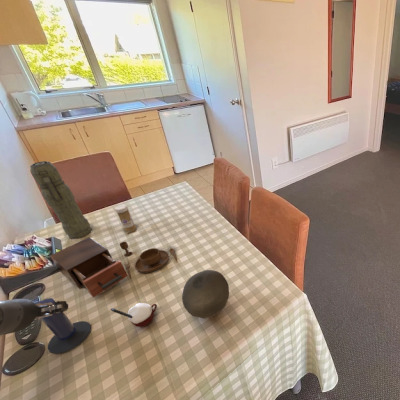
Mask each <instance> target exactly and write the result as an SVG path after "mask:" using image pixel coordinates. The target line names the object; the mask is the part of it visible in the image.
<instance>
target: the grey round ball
mask: <svg viewBox="0 0 400 400" xmlns="http://www.w3.org/2000/svg"><path fill="white" fill-rule="evenodd" d="M181 295H182V296H181V302H182V305H183V308H184V309H185V310H186V311H187V313H188V314H189V315H190V316H192V317H195V318H199V319H209V318H212V317H214V316H215V315H217V314H219V313H221V311H222V310H223V309H224V308H225V307H226V305H227V303H228V300H229V298H230V286H229V283H228V280H227V279H226V277H225V276H224V275H223V273H221V272H220V271H217V270H214V269H205V270H202V271H199V272H196V273H195V274H193V275H192V276H190V278H188V279H187V281H186V282H185V284H184V286H183V289H182V294H181Z"/></svg>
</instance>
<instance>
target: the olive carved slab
mask: <svg viewBox="0 0 400 400" xmlns="http://www.w3.org/2000/svg"><path fill="white" fill-rule="evenodd" d="M29 167H30V174H31V175H32V177H33V179H34V181H35V182H36V183H37V185H38V186H39V188H40V191H41V195H42V197H43V199H44V200H45V202H46V203H47V205H48V206H49V207H51V209H52V210H53V212H54V214H55V215H56V217H57V218H58V220H59V222H60V224H61V227H62V229H63V231H64V232H65V234H66V235H67V236H68V238H69V239H70V240H79V239H81V238H83V237H84V238H85V237H86V236H89V235H90V234H91V233H92V232H93V228H92V227H91V224H90V222H89V220H88V219H87V217H85V216H84V213H82V210H81V209H80V207H79V205H78V204H77V202H76V200H75V195H74V194H73V191H72V189H71V188H70V186H69V185H68V184H66V183H65V181H64V180H63V177H62V176H61V174H60V172H59V170H58V168H57V166H55V165H54V164H53V163H52V162H51V161H47V160H43V161H37V162H35V163H32V164H31V165H30V166H29ZM91 231H92V232H91ZM89 233H90V234H89Z"/></svg>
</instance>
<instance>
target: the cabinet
mask: <svg viewBox="0 0 400 400" xmlns="http://www.w3.org/2000/svg"><path fill="white" fill-rule="evenodd" d="M103 253H105V254H106V255H108V256H109V257H111V258H112V259H113V257H112V255H111V253H110V252H109V249H108V248H107V247H104V246H103V245H102V244H100V243H99V242H97V241H96V240H94V239H93V238H91V237H90V236H89V237H86V238H84V239H82V240H80V241H77V242H76V243H73V244H71V245H69V246H68V247H65V248H62V249H61V250H59V251H56V252H54V253H53V254H50V255H49V257H50V258H51V260H52V261H53V263H54V264H55V265H56V267H57V269H58V270H59V272H61V274H62V275H63V276H64V277H65V278H67V280H69V281H70V282H71V283H72V284H73V285H75V287H76V288H77V289H79V290H80V289H81V288H83V287H85V286H84V285H83V284H81V283H80V282H79V281H78V280H77V278H76V277H75V275H74V274H73V272H72V271H71V270H73V269H75V268H76V267H78V266H80V265H82V264H84V263H86V262H88V261H90V260H92V259H94V258H95V257H97V256H99V255H101V254H103Z"/></svg>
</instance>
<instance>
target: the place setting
mask: <svg viewBox="0 0 400 400" xmlns="http://www.w3.org/2000/svg"><path fill="white" fill-rule="evenodd" d="M119 247H120V248H121V250H122V251H123V250H124V251H125V253H124V257H130V256H132V255H133V252H132V251H129V245H128V243H127V241H122V242H120V243H119ZM168 251H169V252H168ZM168 251H166V250H163V249H158V248H157V247H156V248H155V247H153V248H148V249H145V250H144V251H142V252H141V253H140V255H139V257H138V259H136V261H135V262H134V268H135V270H136V271H138V272H140V273H145V274H147V273H151V272H152V273H153V272H155V271H157V270H159V269H161V268H163V267H164V266H165V265H166V264H167V263H168V262H169V259H170V254H172V256H173V259H174V260H175V261H176V262H177V261H178V257H177V256H176V255H175V249H174V248H170V249H169V250H168ZM169 253H170V254H169ZM124 268H125V270H127V275H128V277H129V279H132V275H131V271H130V268H131V265H130V263H129V262H127V263H126V264H124Z"/></svg>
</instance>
